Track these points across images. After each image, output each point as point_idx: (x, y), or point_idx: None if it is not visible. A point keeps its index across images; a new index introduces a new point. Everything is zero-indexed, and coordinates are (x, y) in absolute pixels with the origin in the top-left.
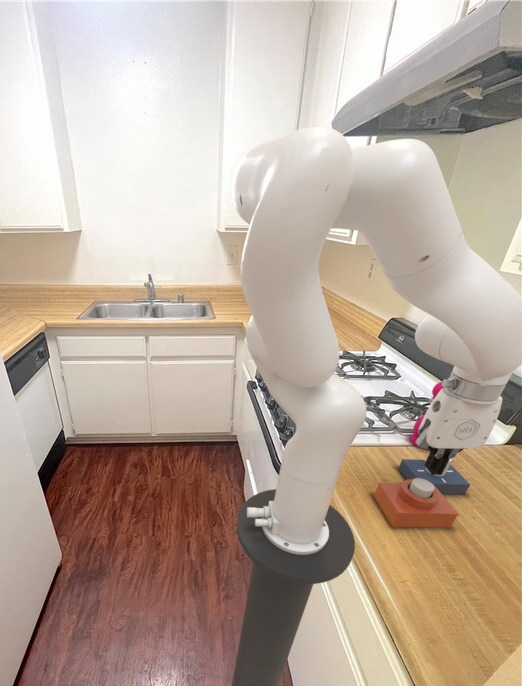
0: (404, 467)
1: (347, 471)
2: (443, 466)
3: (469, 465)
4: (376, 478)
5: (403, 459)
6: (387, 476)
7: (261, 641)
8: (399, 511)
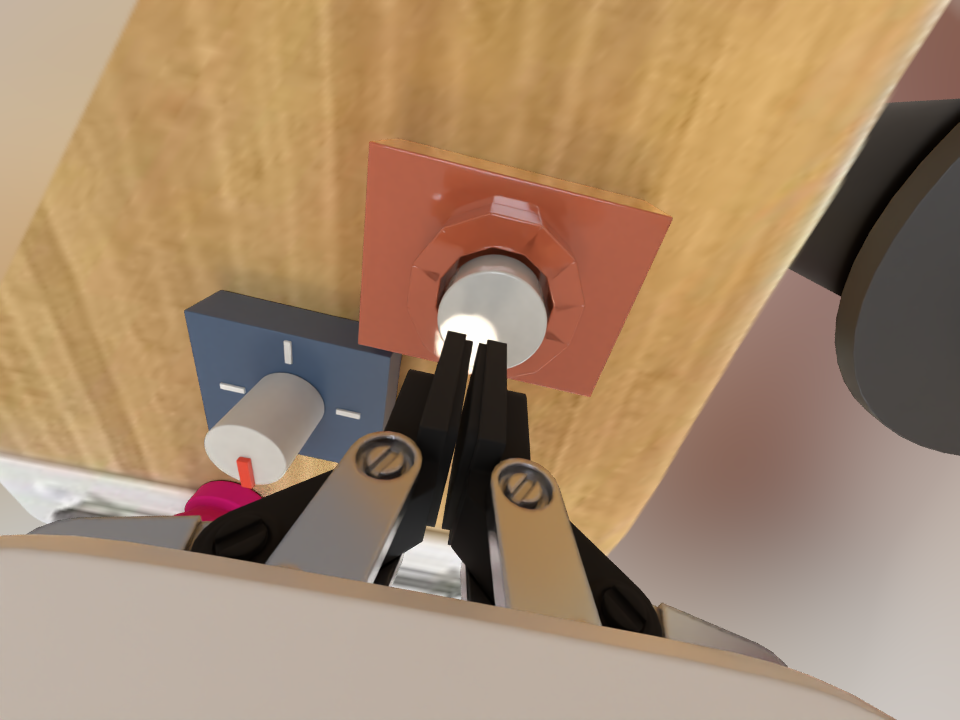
0: None
1: (574, 465)
2: (456, 377)
3: (126, 400)
4: None
5: None
6: None
7: None
8: (660, 225)
